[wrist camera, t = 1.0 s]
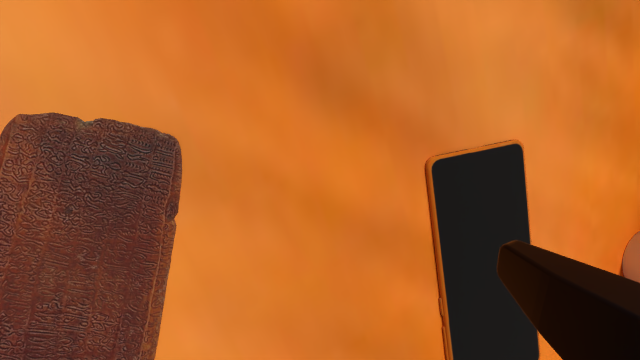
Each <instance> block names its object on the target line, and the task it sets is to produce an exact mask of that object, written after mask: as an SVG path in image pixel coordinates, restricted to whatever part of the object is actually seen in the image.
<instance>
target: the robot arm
mask: <svg viewBox="0 0 640 360" xmlns="http://www.w3.org/2000/svg"><path fill="white" fill-rule="evenodd" d="M497 273H498V276H499V278H500V280H501V281H502V282H503V284H504V285H505V286H506V288H507V289H508V291H509V292H510V293H511V295H512V296H513V298H514V299H515V300H516V302H517V303H518V305H519V306H520V307H521V309H522V310H523V312H524V313H525V314H526V316H527V317H528V318H529V320H530V321H531V323H532V324H533V325H534V327H535V328H536V329H537V330H538V332H539V333H540V334H541V335H542V336H543V338H544V339H545V340H546V341H547V342H548V343H549V344H550V346H551V347H552V348H553V349H554V350H555V351H556V352H557V354H558V355H559V356H560V357H561V358H562V359H563V360H640V283H639V282H636V281H634V280H631V279H628V278H625V277H622V276H619V275H616V274H613V273H611V272H608V271H605V270H602V269H599V268H596V267H593V266H591V265H588V264H585V263H582V262H579V261H576V260H573V259H571V258H568V257H565V256H562V255H559V254H556V253H553V252H550V251H548V250H545V249H542V248H539V247H536V246H533V245H530V244H528V243H525V242H522V241H518V240H514V241H511V242H508V243H506V244H503V245H502V246H501V247H500V250H499V256H498V263H497Z"/></svg>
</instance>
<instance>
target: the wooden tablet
mask: <svg viewBox="0 0 640 360" xmlns="http://www.w3.org/2000/svg"><path fill="white" fill-rule="evenodd" d="M181 176H182V159H181V149H180V146H179V142H178V141H177V139H176V138H175V137H173V136H171V135H169V134H165V133H161V132H159V131H158V130H155V129H152V128H146V127H140V126H137V125H133V124H130V123H124V122H119V121H116V120H111V119H103V118H100V119H95V120H94V121H87V122H84V121H82V120H81V119H79V118H78V117H72V116H67V115H63V114H58V113H44V114H35V115H27V114H19V115H17V116H16V117H14V118H13V119H12V120H11V121H10V122H9V123H8V124H7V125H6V126H5V128H4V130H3V131H2V133H1V135H0V360H154V358H155V353H156V347H157V342H158V337H159V330H160V324H161V317H162V311H163V305H164V300H165V292H166V285H167V279H168V273H169V268H170V262H171V254H172V249H173V242H174V236H175V231H176V223H175V220H174V218H175V216H176V214H177V213H178V205H179V197H180V188H181Z"/></svg>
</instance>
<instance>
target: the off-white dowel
mask: <svg viewBox="0 0 640 360" xmlns="http://www.w3.org/2000/svg"><path fill="white" fill-rule="evenodd" d="M622 269H623V274H624V277H625V278H628V279H631V280H634V281H636V282H639V283H640V231H639V232H638V233H636V234H635V235H634V236H633V237H632V239H631V240H630V241H629V243H628V245H627V247H626V249H625V252H624V255H623V261H622Z"/></svg>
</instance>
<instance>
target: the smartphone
mask: <svg viewBox="0 0 640 360" xmlns="http://www.w3.org/2000/svg"><path fill="white" fill-rule="evenodd" d="M425 171H426V179H427V188H428V197H429V205H430V214H431V222H432V231H433V240H434V248H435V257H436V265H437V274H438V283H439V291H440V298H439V306H440V314H441V315H442V317H443V327H442V331H443V340H444V348H445V356H446V360H540V345H539V333H538V330H537V329H536V328H535V327H534V325H533V324H532V323H531V321H530V320H529V318H528V317H527V316H526V314H525V313H524V312H523V310H522V309H521V307H520V306H519V305H518V303H517V302H516V300H515V299H514V298H513V296H512V295H511V293H510V292H509V291H508V289H507V288H506V286H505V285H504V284H503V282H502V281H501V280H500V278H499V276H498V273H497V263H498V256H499V250H500V247H501V246H502V245H503V244H506V243H508V242H511V241H514V240H518V241H522V242H525V243H528V244H530V245H531V232H530V220H529V207H528V195H527V182H526V170H525V157H524V147H523V144H522V143H521V141H519V140H509V141H505V142H500V143H495V144H490V145H485V146H481V147H478V148H473V149H466V150H461V151H456V152H451V153H447V154H442V155H437V156H433V157H430V158H429V159H428V160H427V162H426V164H425Z"/></svg>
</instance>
